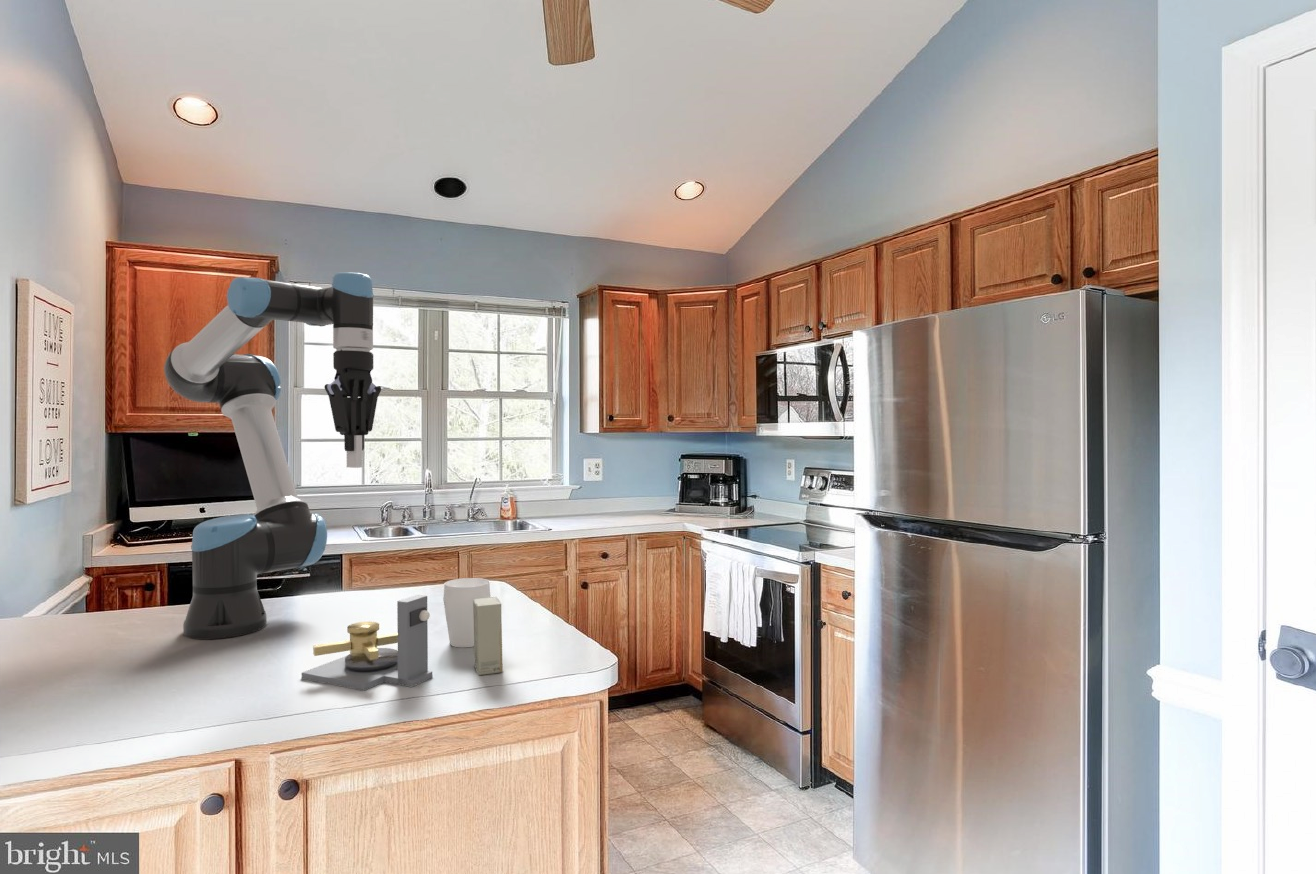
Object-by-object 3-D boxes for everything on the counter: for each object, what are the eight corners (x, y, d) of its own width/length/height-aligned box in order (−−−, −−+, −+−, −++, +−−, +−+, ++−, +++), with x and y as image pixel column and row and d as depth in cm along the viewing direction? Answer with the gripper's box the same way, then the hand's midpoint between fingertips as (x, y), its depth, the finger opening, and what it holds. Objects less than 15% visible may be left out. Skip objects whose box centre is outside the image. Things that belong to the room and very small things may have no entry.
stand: (301, 678, 129) (300, 597, 128) (363, 654, 141) (363, 580, 141) (394, 696, 120) (394, 609, 120) (451, 669, 133) (451, 591, 133)
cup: (478, 651, 144) (478, 588, 143) (435, 648, 145) (434, 586, 145) (497, 637, 152) (497, 578, 152) (456, 635, 154) (456, 576, 154)
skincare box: (503, 673, 132) (502, 604, 131) (477, 676, 130) (476, 606, 130) (497, 662, 137) (497, 596, 137) (472, 664, 136) (472, 597, 136)
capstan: (322, 686, 121) (322, 644, 121) (306, 659, 134) (306, 621, 134) (429, 667, 130) (428, 628, 130) (404, 644, 144) (404, 608, 144)
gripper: (341, 347, 145) (343, 470, 145) (391, 352, 157) (392, 465, 157) (313, 348, 148) (314, 468, 148) (363, 353, 160) (364, 464, 160)
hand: (354, 467), depth 153 cm, fingers closed
